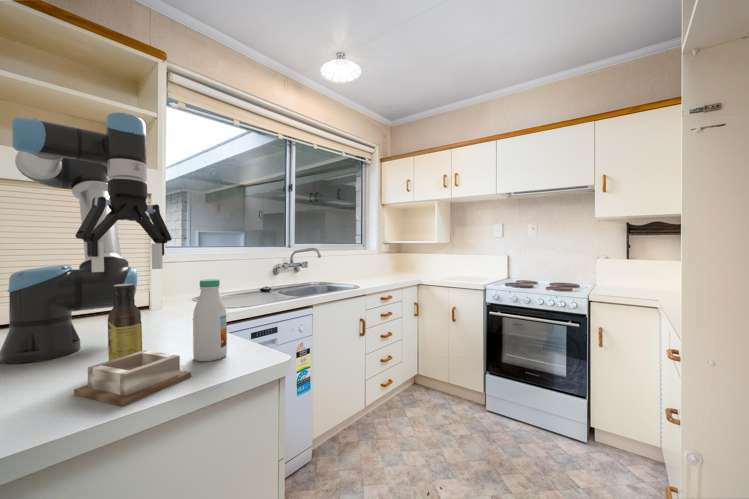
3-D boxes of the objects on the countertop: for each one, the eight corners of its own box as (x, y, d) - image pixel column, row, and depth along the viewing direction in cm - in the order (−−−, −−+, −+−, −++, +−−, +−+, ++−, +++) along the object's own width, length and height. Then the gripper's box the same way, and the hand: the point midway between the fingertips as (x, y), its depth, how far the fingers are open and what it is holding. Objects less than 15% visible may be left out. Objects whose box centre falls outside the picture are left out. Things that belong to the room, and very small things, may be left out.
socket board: (74, 394, 63) (73, 368, 63) (146, 368, 76) (146, 347, 76) (122, 406, 58) (122, 378, 58) (191, 376, 71) (190, 354, 71)
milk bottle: (213, 363, 80) (212, 281, 80) (186, 361, 81) (185, 281, 81) (233, 353, 87) (232, 278, 87) (207, 351, 89) (207, 278, 89)
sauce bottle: (117, 366, 78) (116, 283, 78) (147, 363, 80) (146, 282, 79) (102, 376, 72) (101, 286, 72) (135, 373, 73) (134, 285, 73)
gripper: (76, 166, 65) (78, 273, 64) (185, 189, 88) (187, 267, 88) (52, 170, 67) (54, 274, 67) (164, 191, 91) (166, 268, 90)
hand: (130, 270), depth 77 cm, fingers open, 13 cm apart
